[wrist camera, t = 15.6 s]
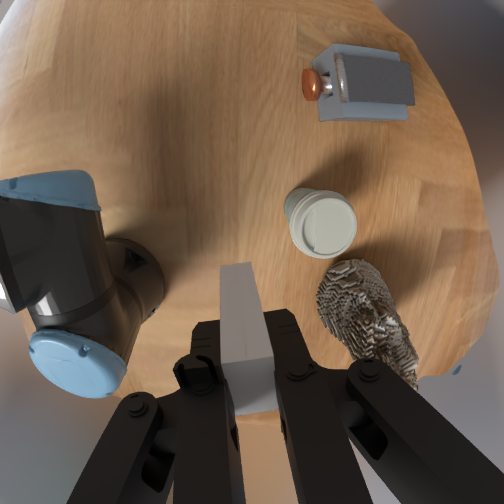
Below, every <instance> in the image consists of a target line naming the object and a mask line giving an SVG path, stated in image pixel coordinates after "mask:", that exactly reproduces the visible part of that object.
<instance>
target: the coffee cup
mask: <svg viewBox="0 0 504 504" xmlns="http://www.w3.org/2000/svg"><path fill="white" fill-rule="evenodd" d="M284 212H285V215H286V217H287V220H288V223H289V225H290V234H291V237H292V240H293V242H294V244H295V245H296V246H297V247H298V248H299V249H300V250H301V251H302V252H304V253H305V254H307V255H309V256H311V257H315V258H323V259H326V258H332V257H335V256H338V255H339V254H341V253H343V252H344V251H345V250H346V249H347V248H348V247H349V246H350V245H351V243H352V241H353V240H354V237H355V234H356V230H357V220H356V216H355V212H354V210H353V207H352V206H351V204H350V203H349V202H348V200H347V199H346V198H345V197H343V196H342V195H341V194H339V193H337V192H334V191H330V190H314V189H309V188H297V189H295V190H293V191H291V192H290V193H289V194H288V195H287V197H286V199H285V202H284Z"/></svg>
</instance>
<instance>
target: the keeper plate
mask: <svg viewBox="0 0 504 504" xmlns="http://www.w3.org/2000/svg"><path fill="white" fill-rule="evenodd" d="M333 56H334V62H335V68H336V74H337V81H338V89H339V96H340V103H350V102H374V103H388V104H400V105H409V106H413V105H415V99H414V91H413V84H412V77H411V71H410V65H409V63H407V62H401V61H395V60H388V59H381V58H373V57H364V56H353V55H343V53H334V54H333Z"/></svg>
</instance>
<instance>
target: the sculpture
mask: <svg viewBox="0 0 504 504" xmlns="http://www.w3.org/2000/svg"><path fill="white" fill-rule="evenodd" d="M318 288H319V291H317V292H318V294H316V297H317V299H318V301H316V302H317V305H318V307H319V309H317V310H318V313H319V315H320V317H321V319H322V321H323V324H324V326H325V328H326V327H328V329H329V331H330V333H331V334H334V336H335V338H336V337H337V338H338V340H339V341H342V343H343V344H344V345H345V346H347V348H348V350H349V352H350V354H351V356H352V359H353V360H358V359H362V358H371V357H372V358H376V359H380V360H381V361H383V362H385V363H386V364H387V365H388V366H389V367H390V368H392V369H393V370H394V371H395V372H396V373H397V374H398V375H399V376H400V377H401V378H402V379H403V380H405V381H406V382H407V383H408V384H409V385H410V386H411V387H412V388H413V389H414V390H415V391H416V392H418V385H417V381H416V379H417V376H416V374H415V369H416V368H417V365H418V360H419V358H418V356H417V354H416V351H415V349H414V347H413V346H412V343H411V342H410V339H409V337H408V336H410V334H409V333H408V330H407V328H406V326H405V325H403V324H402V323H401V319H400V316H399V315H398V314H397V312H396V306H395V304H394V302H393V298H392V297H391V294H390V291H389V289H388V287H387V285H386V283H385V282H384V280H383V279H382V278H381V275H380V272H379V271H378V270H377V269H376V268H375V267H373V266H372V265H371V264H370V263H367V262H366V261H364V259H362V260H360V261H359V260H356V259H352V260H347V261H346V260H345V261H343V260H342V261H340V262H338V263H336V264H335V265H333V266H331V267H329V269H328V272H327V273H326V276H325V278H324V279H323V282H322V283H320V286H319V287H318Z"/></svg>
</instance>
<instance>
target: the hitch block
mask: <svg viewBox="0 0 504 504" xmlns="http://www.w3.org/2000/svg"><path fill="white" fill-rule="evenodd" d="M334 53H343V55H353V56H364V57H373V58H381V59H388V60H395V61H400V57H399V53H397V52H392V51H386V50H381V49H375V48H368V47H361V46H353V45H344V44H332V45H331V46H329V47H328V48H327V49H326V50H324V51H323V52H322V53H321V54H319V55H318V56H317V57H316V58H314V59H313V60H312V65H313V69H316V70H317V72H318V73H319V76H330V78H331V85H332V93H333V94H320V98H319V100H317V101H318V110H319V119H320V121H395V120H408V115H407V105H400V104H388V103H374V102H350V103H340V96H339V89H338V81H337V74H336V68H335V62H334V56H333V54H334Z"/></svg>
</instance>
